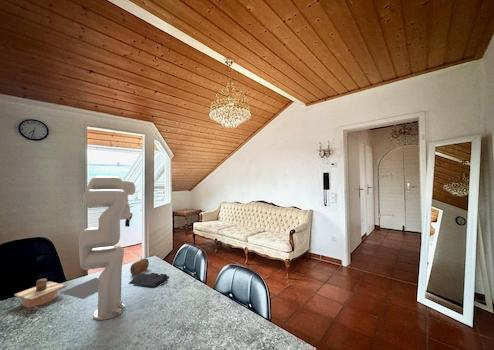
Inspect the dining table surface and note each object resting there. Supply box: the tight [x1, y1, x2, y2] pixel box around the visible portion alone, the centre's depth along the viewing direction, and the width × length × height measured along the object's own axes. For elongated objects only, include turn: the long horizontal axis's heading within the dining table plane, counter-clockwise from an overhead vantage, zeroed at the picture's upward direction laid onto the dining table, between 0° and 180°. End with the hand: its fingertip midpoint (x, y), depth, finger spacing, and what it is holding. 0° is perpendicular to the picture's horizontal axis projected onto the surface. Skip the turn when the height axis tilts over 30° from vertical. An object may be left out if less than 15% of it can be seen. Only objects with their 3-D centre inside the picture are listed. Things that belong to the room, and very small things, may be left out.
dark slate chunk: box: [128, 272, 170, 289], centre depth 133 cm, size 15×22×5 cm
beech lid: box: [13, 277, 67, 301], centre depth 112 cm, size 15×15×6 cm
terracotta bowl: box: [22, 290, 58, 308], centre depth 112 cm, size 12×12×5 cm
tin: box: [129, 258, 150, 276], centre depth 147 cm, size 15×3×8 cm, turn 164°
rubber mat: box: [59, 277, 99, 300], centre depth 125 cm, size 20×20×1 cm
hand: (120, 227), depth 138 cm, fingers open, 9 cm apart
